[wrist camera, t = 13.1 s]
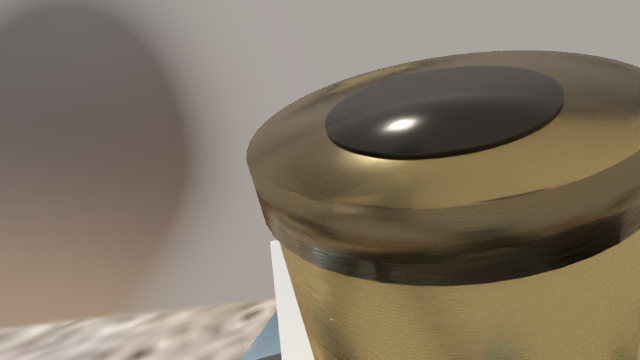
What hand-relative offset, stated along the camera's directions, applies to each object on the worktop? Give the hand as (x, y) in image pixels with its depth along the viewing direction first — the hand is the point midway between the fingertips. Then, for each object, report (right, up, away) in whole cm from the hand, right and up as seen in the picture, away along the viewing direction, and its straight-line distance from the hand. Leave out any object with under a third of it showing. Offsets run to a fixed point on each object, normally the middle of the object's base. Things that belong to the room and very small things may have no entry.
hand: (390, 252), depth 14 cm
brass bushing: (+2, -9, -1) cm, 10 cm away
